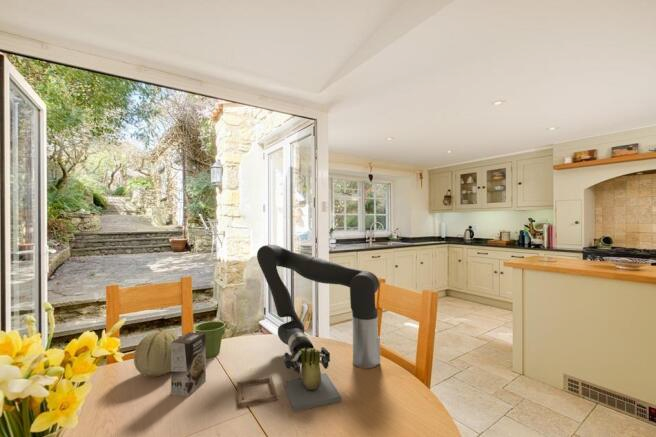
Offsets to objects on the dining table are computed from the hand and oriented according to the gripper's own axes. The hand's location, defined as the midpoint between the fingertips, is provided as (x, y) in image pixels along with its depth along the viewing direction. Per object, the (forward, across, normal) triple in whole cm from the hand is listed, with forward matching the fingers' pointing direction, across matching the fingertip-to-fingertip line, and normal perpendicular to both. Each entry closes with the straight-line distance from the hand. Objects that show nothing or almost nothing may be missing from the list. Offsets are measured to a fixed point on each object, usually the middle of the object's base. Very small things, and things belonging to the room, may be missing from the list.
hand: (312, 367), depth 90 cm
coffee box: (-18, -36, +9) cm, 41 cm away
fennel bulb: (-2, 0, +7) cm, 7 cm away
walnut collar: (-8, -16, +8) cm, 20 cm away
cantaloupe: (-31, -47, +9) cm, 57 cm away
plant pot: (-42, -31, +9) cm, 53 cm away
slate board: (-2, 0, +8) cm, 9 cm away
